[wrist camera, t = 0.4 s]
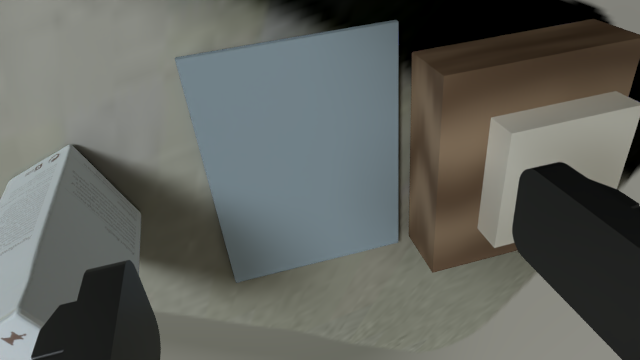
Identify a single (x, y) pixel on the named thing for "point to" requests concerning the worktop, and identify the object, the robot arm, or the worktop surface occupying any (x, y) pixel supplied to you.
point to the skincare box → (56, 242)
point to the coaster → (553, 151)
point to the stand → (490, 101)
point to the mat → (299, 145)
